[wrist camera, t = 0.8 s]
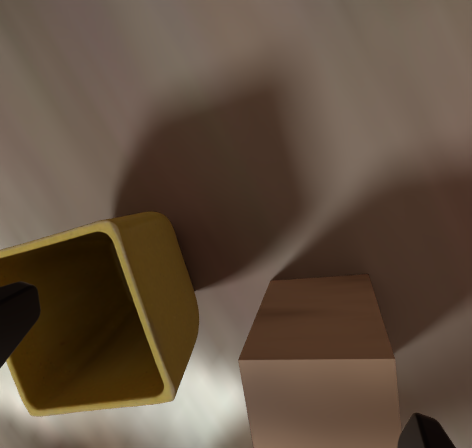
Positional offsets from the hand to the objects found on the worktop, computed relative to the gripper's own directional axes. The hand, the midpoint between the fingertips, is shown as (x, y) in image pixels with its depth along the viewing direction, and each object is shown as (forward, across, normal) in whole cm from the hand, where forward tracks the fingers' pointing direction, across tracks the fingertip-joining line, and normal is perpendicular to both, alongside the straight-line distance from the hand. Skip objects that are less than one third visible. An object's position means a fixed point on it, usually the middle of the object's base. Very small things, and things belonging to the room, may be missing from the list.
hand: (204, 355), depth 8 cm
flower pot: (+14, +8, +9) cm, 18 cm away
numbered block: (+13, -4, +9) cm, 16 cm away
